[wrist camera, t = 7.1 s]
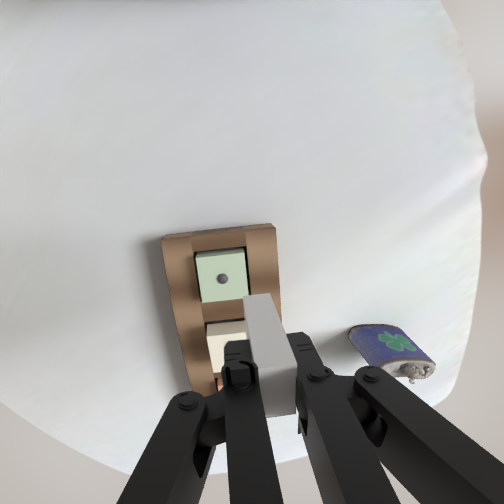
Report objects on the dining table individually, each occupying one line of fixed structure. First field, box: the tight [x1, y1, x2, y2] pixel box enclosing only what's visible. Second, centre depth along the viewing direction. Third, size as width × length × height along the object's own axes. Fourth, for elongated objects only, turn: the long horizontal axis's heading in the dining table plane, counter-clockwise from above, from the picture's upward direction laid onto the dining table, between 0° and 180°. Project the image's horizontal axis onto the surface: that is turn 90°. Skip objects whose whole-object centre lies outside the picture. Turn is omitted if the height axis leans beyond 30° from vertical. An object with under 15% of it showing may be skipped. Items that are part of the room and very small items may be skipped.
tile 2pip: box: [207, 320, 247, 373], centre depth 30 cm, size 4×4×3 cm
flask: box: [348, 324, 436, 384], centre depth 32 cm, size 9×3×11 cm, turn 77°
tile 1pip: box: [196, 247, 248, 303], centre depth 29 cm, size 4×4×3 cm
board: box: [161, 223, 282, 397], centre depth 33 cm, size 23×11×3 cm, turn 5°
